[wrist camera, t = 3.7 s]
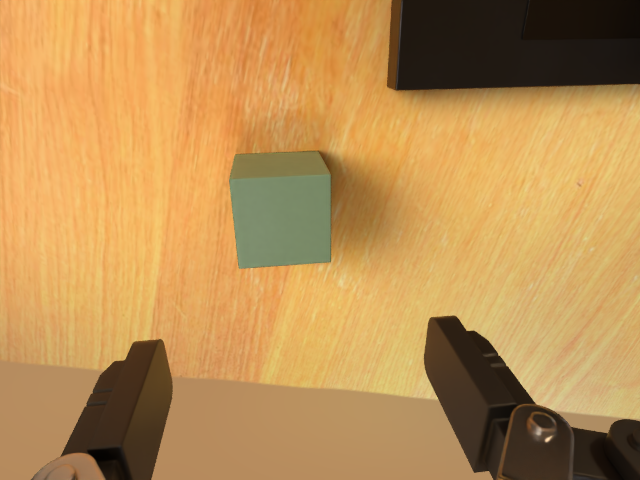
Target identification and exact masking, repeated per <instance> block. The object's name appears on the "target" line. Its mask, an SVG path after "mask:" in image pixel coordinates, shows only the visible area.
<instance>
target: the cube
mask: <svg viewBox="0 0 640 480" xmlns="http://www.w3.org/2000/svg"><path fill="white" fill-rule="evenodd" d="M229 183H230V192H231V201H232V211H233V220H234V229H235V238H236V247H237V256H238V266H239V269H242V268H256V267H270V266H284V265H298V264H312V263H326V262H331V174H330V172H329V170H328V168H327V166H326V164H325V163H324V161H323V159H322V157H321V155H320V153H319V151H303V152H279V153H255V154H235V157H234V161H233V165H232V170H231V174H230V179H229Z"/></svg>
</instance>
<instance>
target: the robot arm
mask: <svg viewBox="0 0 640 480" xmlns="http://www.w3.org/2000/svg"><path fill="white" fill-rule="evenodd" d="M424 364H425V370H426V374H427V376H428V379H429V381H430V383H431V385H432V387H433V389H434V391H435V393H436V395H437V397H438V399H439V401H440V403H441V405H442V407H443V409H444V412H445V414H446V416H447V418H448V420H449V422H450V424H451V426H452V428H453V430H454V432H455V434H456V436H457V438H458V440H459V442H460V444H461V447H462V449H463V450H464V453H465V455H466V457H467V459H468V461H469V463H470V465H471V467H472V469H473V471H474V473H476V472H483V471H489V472H490V474H491V476H492V478H493V480H640V421H636V420H630V419H623V420H618V421H616V422H614V423H613V424H612V425H611V427H610V430H609V432H608V433H602V432H596V431H590V430H584V429H578V428H573V427H570V425H569V424H568V422H567V421H566V420H565V419H563V417H561V416H560V415H559V414H557V413H556V412H554V411H552V410H550V409H548V408H546V407H543V406H540V405H536V404H535V402H534V401H533V400H532V398H531V397H530V396H529V394H528V393H527V392H526V390H525V389H524V388H523V386H522V385H521V384H520V382H519V381H518V379H517V378H516V377H515V375H514V374H513V373H512V371H511V370H510V369H509V367H508V366H506V363H505V362H504V361H503V359H502V358H501V357H500V356H498V353H497V351H496V350H495V349H494V347H493V346H492V345H491V343H490V342H489V341H488V340H487V339H485V338H484V337H483V336H481V335H480V334H478V333H477V332H475V331H466V329H465V328H464V326H463V325H462V323H461V322H460V321H459V319H458V318H457V317H456V316H443V317H431V318H430V319H429V322H428V329H427V337H426V345H425V353H424ZM171 400H172V377H171V373H170V368H169V364H168V359H167V355H166V350H165V345H164V342H163V340H161V339H159V340H147V341H135V342H134V343H133V344H132V346H131V348H130V351H129V353H128V355H127V357H126V360H124V361H114V362H113V363H112V364H111V365H110V366H109V367H108V368H107V369H106V370H105V371H104V372H103V373H102V374H101V375H100V377H99V379H98V381H97V383H96V385H95V387H94V389H93V394H91V395H90V397H89V399H88V402H87V406H86V407H85V408H84V410H83V412H82V414H81V416H80V418H79V420H78V422H77V424H76V426H75V428H74V430H73V432H72V434H71V436H70V438H69V440H68V442H67V445H66V447H65V449H64V451H63V453H62V455H61V456H60V457H59V458H57V459H55V460H53V461H51V462H50V463H48V464H47V465H45V466H44V467H43V468H42V469H40V470H39V471H38V472H37V473H36V474H35V475H34V477H33V478H32V479H31V480H151V478H152V474H153V471H154V467H155V463H156V459H157V455H158V451H159V447H160V443H161V439H162V435H163V432H164V427H165V424H166V420H167V416H168V412H169V408H170V404H171Z"/></svg>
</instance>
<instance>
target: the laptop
mask: <svg viewBox="0 0 640 480" xmlns="http://www.w3.org/2000/svg"><path fill="white" fill-rule="evenodd" d="M626 84H640V0H392V7H391V26H390V44H389V62H388V80H387V87H389V88H391V89H394V90H435V89H474V88H512V87H550V86H588V85H626Z"/></svg>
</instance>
